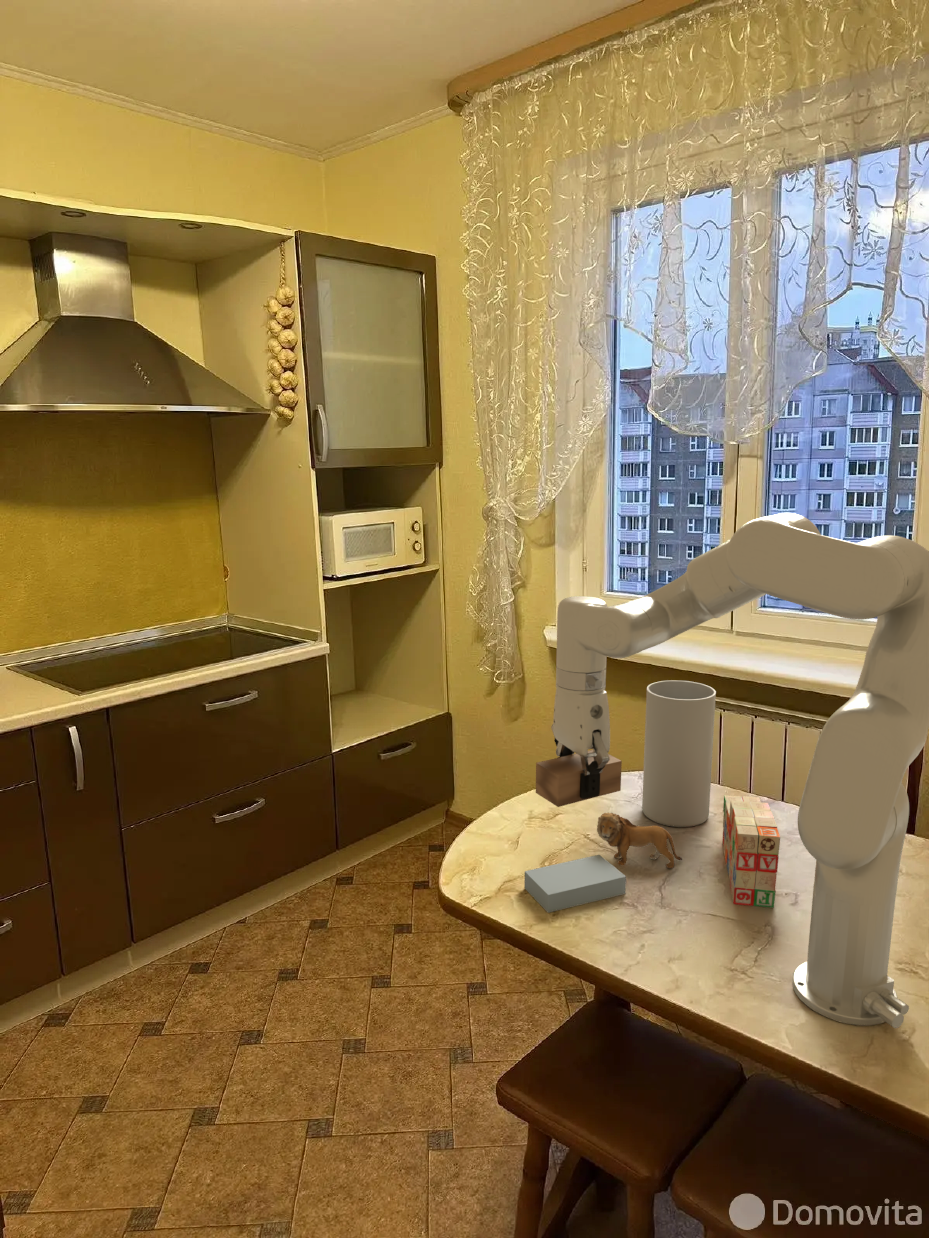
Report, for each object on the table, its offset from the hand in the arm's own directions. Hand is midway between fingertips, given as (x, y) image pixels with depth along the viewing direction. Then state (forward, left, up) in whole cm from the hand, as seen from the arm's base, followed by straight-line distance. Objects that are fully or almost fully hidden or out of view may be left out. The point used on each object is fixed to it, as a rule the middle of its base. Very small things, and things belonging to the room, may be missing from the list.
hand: (577, 787), depth 136 cm
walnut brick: (0, 0, -1) cm, 1 cm away
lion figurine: (+4, -14, -18) cm, 23 cm away
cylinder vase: (+17, -32, -18) cm, 41 cm away
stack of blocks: (-6, -29, -18) cm, 35 cm away
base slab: (0, 0, -18) cm, 18 cm away
